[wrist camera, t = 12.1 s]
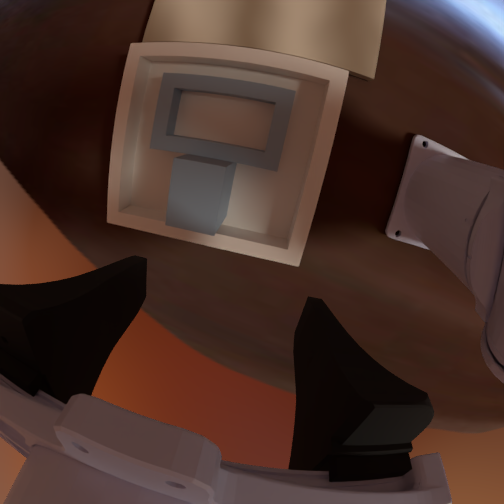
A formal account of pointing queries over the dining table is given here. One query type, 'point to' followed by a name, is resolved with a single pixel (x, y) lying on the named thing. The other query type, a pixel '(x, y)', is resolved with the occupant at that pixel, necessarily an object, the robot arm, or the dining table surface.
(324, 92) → the tray
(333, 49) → the tan square tile
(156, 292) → the dining table surface
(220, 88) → the grey blocky piece
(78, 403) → the robot arm
